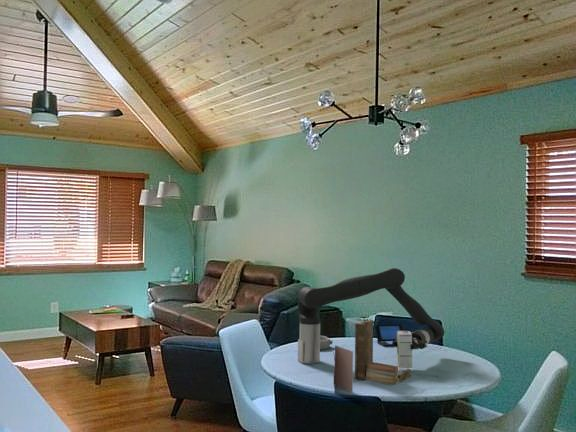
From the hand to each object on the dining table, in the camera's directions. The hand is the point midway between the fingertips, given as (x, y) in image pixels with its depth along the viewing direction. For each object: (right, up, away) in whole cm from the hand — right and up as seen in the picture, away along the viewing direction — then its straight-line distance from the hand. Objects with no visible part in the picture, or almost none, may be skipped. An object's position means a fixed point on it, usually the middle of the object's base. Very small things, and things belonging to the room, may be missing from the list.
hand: (402, 345), depth 228 cm
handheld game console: (+7, -12, +54) cm, 56 cm away
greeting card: (-28, -10, -26) cm, 39 cm away
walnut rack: (-10, -11, -10) cm, 18 cm away
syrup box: (+1, -9, +2) cm, 9 cm away
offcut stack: (-11, -10, -14) cm, 21 cm away
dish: (-34, -12, +44) cm, 57 cm away
